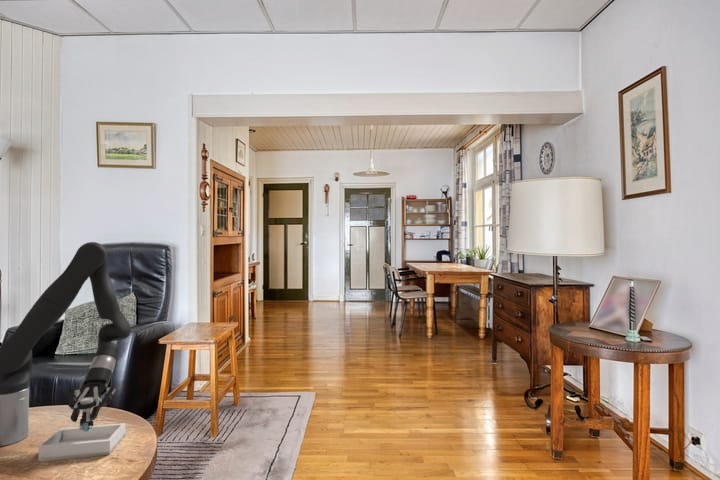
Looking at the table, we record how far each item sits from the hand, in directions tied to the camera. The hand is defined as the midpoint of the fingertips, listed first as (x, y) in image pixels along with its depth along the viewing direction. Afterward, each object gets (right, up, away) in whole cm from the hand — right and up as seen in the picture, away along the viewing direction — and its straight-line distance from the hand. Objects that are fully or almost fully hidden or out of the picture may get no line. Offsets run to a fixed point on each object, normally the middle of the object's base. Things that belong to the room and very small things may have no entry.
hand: (82, 420), depth 122 cm
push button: (0, -4, +2) cm, 5 cm away
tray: (-1, -10, +2) cm, 10 cm away
